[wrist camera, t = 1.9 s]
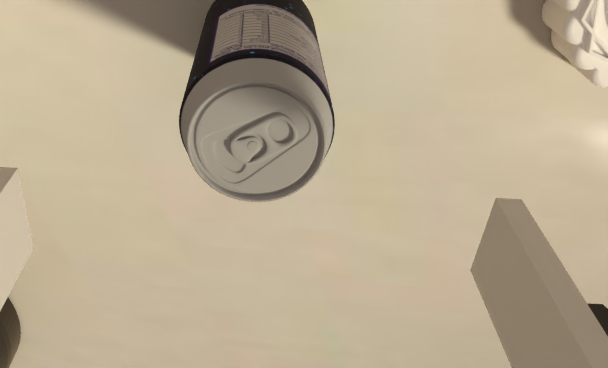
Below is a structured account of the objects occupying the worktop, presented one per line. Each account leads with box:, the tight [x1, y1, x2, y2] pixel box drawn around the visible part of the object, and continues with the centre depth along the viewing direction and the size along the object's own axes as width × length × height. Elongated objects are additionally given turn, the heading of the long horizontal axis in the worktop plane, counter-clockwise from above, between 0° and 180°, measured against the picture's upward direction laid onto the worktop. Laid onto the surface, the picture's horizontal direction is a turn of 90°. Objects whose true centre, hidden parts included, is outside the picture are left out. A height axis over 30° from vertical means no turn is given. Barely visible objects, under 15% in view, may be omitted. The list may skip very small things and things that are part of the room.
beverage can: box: [179, 0, 335, 202], centre depth 25 cm, size 6×6×12 cm
